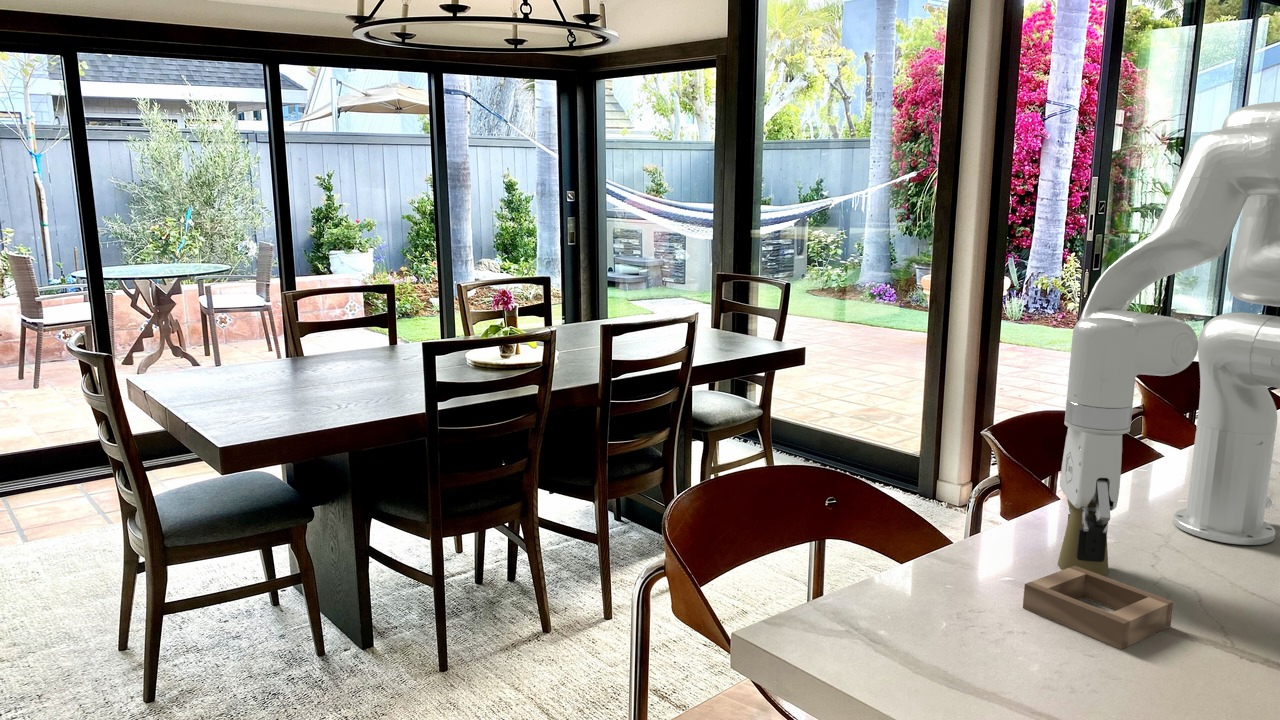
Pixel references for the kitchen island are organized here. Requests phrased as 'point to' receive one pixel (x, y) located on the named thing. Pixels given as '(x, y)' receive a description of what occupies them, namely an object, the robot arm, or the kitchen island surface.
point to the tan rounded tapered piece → (1070, 544)
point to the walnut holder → (1119, 628)
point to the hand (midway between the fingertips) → (1084, 550)
